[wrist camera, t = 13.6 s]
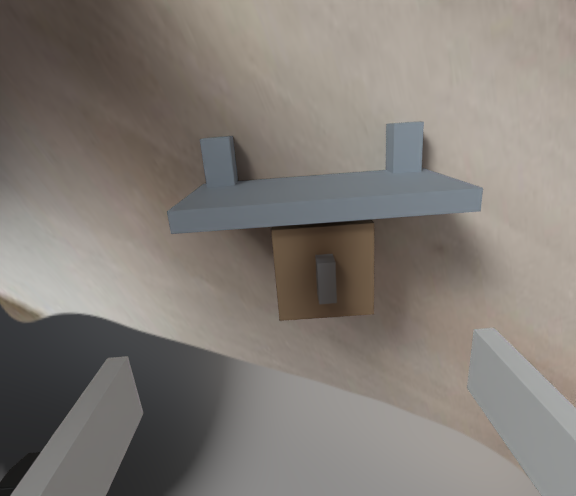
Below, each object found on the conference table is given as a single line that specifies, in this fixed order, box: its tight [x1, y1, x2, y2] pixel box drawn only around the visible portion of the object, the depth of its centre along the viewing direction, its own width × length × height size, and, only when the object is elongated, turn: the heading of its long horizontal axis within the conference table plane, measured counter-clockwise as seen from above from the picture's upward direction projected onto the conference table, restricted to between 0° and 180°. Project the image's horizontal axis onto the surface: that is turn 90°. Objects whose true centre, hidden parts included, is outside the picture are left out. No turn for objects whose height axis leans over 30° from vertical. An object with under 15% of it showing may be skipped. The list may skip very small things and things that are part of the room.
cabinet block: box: [271, 219, 374, 321], centre depth 30 cm, size 7×7×12 cm
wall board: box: [167, 122, 483, 234], centre depth 28 cm, size 20×6×11 cm, turn 94°
